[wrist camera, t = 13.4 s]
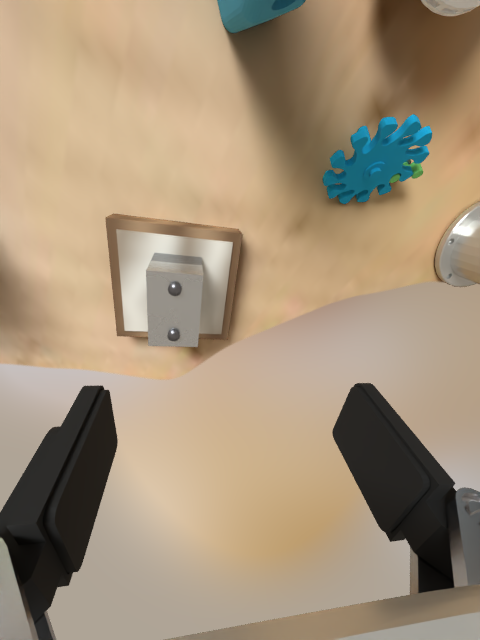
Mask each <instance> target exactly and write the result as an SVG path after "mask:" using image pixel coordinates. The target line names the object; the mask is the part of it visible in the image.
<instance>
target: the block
mask: <svg viewBox="0 0 480 640" xmlns="http://www.w3.org/2000/svg"><path fill="white" fill-rule="evenodd" d="M217 1H218V6H219V10H220V14H221V19H222V22H223V25H224V27H225V28H226V29H227V30H228V31H229V32H231V33H237V32H240V31H242V30H245V29H248V28H250V27H253V26H256V25H259V24H261V23H264V22H267V21H269V20H271V19H274V18H276V17H278V16H280V15H283V14H285V13H287V12H289V11H292V10H294V9H296V8H298V7H300V6H301V5H302V4H303V3H304V2H305V0H217Z"/></svg>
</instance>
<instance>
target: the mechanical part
mask: <svg viewBox="0 0 480 640" xmlns="http://www.w3.org/2000/svg"><path fill="white" fill-rule="evenodd" d="M421 2H422V3H423V4H424V5H425V6H426V7H427V8H428V9H430V10H431V11H432V12H434V13H437V14H439V15H442V16H457V15H461V14H464V13H467V12H469V11H471V10H473V9H474V8H476V7H478V6H480V0H421Z"/></svg>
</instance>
